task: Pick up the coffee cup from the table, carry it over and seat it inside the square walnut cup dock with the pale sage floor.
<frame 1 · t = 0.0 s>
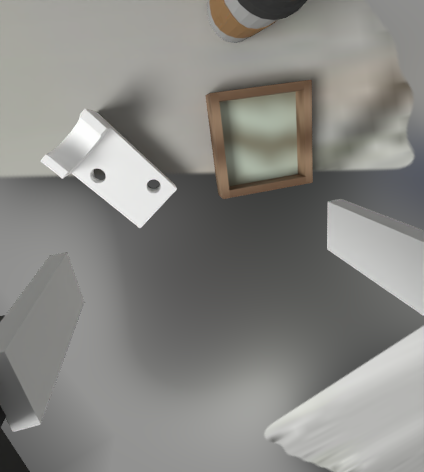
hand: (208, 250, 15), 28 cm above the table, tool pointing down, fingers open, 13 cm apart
coffee cup: (231, 13, 36), on the table
bracket: (120, 169, 40), on the table
cup dock: (257, 140, 42), on the table
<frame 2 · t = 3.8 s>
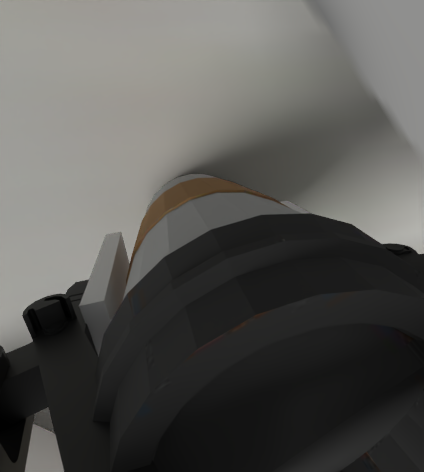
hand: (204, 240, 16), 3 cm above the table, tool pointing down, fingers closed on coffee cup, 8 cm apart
coffee cup: (194, 221, 20), on the table, touching gripper
bracket: (4, 446, 23), on the table
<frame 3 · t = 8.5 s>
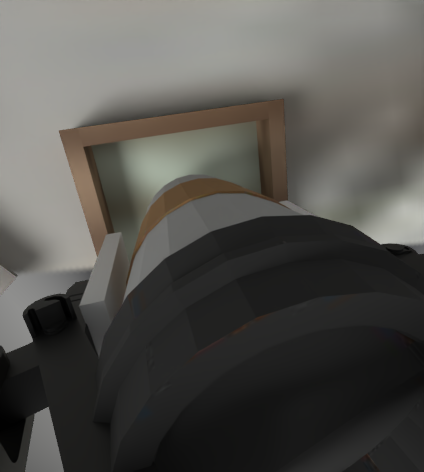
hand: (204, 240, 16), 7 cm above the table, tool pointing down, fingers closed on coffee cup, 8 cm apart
coffee cup: (194, 221, 20), point 3 cm above the table, touching gripper
cup dock: (188, 208, 22), on the table
when the fingers open (6 cm above the table, at t = 9.6 s): coffee cup drops 2 cm, resting on cup dock.
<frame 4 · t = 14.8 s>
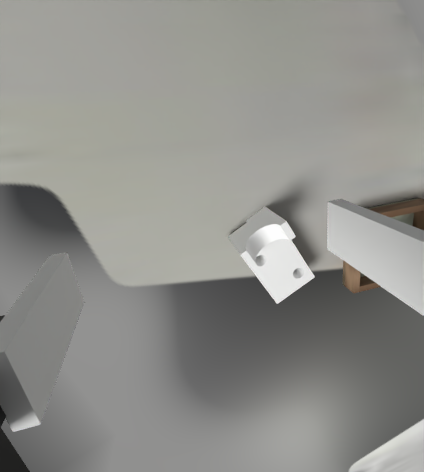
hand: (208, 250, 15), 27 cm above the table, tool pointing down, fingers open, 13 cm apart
bracket: (266, 251, 47), on the table
cup dock: (379, 242, 50), on the table
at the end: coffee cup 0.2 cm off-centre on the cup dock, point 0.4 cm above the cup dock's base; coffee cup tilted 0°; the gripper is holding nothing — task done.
